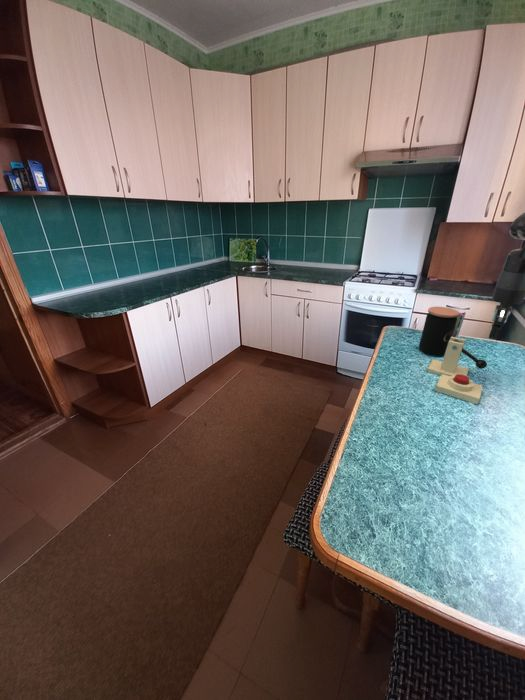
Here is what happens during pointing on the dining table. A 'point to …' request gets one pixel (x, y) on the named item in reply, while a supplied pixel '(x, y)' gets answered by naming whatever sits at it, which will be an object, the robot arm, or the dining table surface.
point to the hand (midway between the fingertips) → (492, 338)
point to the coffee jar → (438, 330)
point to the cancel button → (461, 379)
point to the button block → (459, 389)
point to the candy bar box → (458, 323)
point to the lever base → (449, 360)
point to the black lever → (474, 358)
